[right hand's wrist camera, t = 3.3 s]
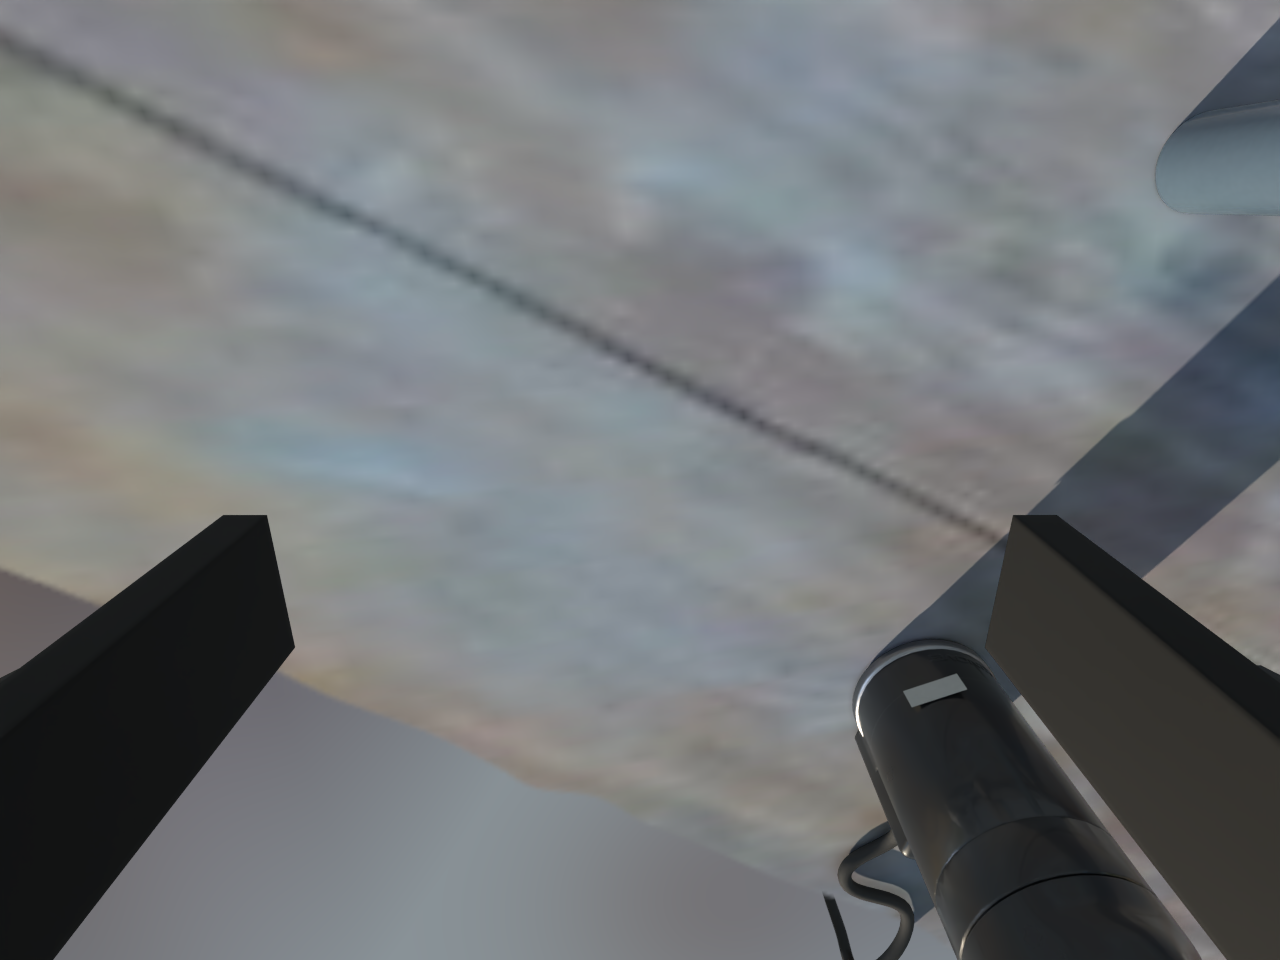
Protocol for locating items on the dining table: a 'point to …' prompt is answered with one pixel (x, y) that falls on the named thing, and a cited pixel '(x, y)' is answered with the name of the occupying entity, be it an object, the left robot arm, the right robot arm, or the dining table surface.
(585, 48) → the dining table surface
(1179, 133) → the bottle
